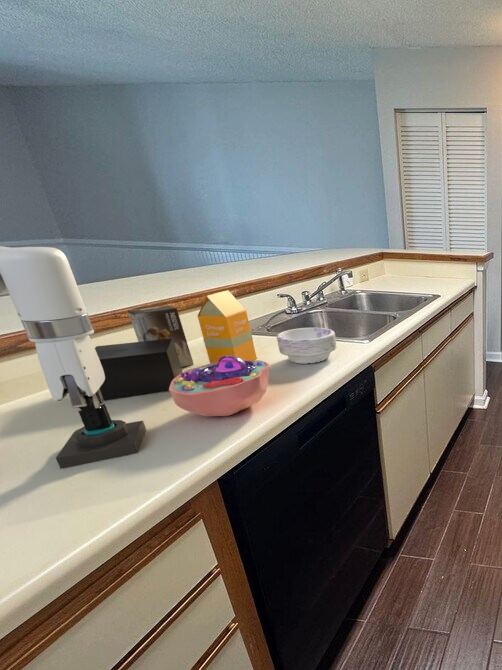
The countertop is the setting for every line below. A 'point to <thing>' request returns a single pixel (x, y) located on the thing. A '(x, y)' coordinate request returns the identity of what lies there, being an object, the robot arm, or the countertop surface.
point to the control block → (102, 444)
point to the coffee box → (161, 328)
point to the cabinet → (138, 368)
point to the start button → (98, 430)
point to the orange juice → (225, 327)
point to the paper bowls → (307, 344)
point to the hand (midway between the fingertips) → (99, 427)
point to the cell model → (221, 386)
